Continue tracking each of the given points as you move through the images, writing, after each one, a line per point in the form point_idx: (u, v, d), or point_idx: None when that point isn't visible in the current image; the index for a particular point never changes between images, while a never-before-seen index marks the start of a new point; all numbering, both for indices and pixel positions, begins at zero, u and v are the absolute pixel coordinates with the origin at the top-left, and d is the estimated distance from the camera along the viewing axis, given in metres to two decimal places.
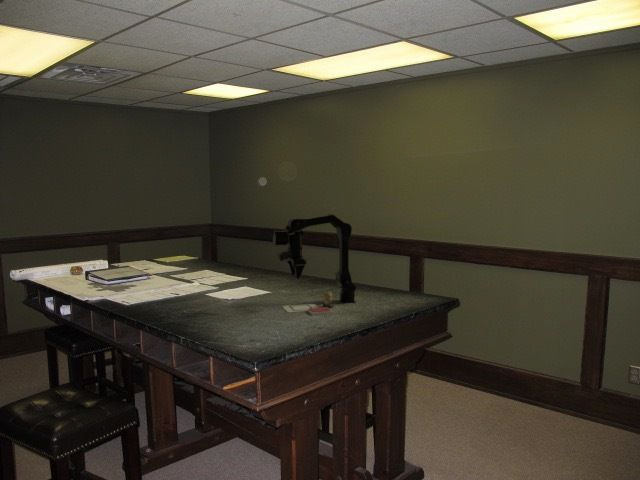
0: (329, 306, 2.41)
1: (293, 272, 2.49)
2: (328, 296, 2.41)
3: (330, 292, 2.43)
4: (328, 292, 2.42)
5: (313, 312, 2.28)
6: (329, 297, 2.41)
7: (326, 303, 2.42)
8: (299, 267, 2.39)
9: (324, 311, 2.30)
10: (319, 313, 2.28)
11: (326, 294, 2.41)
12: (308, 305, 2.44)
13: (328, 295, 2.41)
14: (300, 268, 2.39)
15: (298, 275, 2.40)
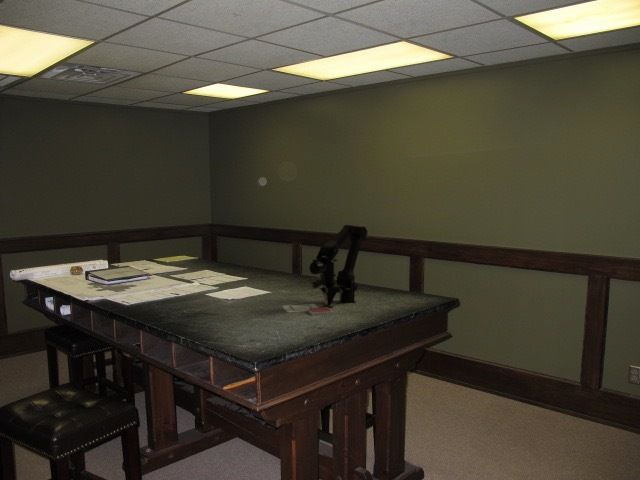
0: (329, 306, 2.41)
1: None
2: None
3: None
4: None
5: (313, 312, 2.28)
6: None
7: (326, 303, 2.42)
8: (331, 293, 2.40)
9: (324, 311, 2.30)
10: (319, 313, 2.28)
11: (326, 294, 2.41)
12: (308, 305, 2.44)
13: None
14: (332, 294, 2.40)
15: (330, 301, 2.41)
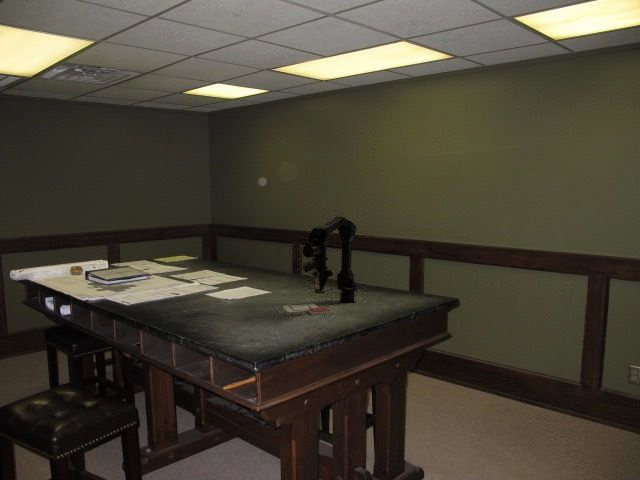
0: (321, 291, 2.29)
1: None
2: None
3: None
4: None
5: (313, 312, 2.28)
6: None
7: (318, 288, 2.30)
8: (323, 278, 2.28)
9: (324, 311, 2.30)
10: (319, 313, 2.28)
11: None
12: (308, 305, 2.44)
13: None
14: (324, 279, 2.28)
15: (322, 286, 2.29)
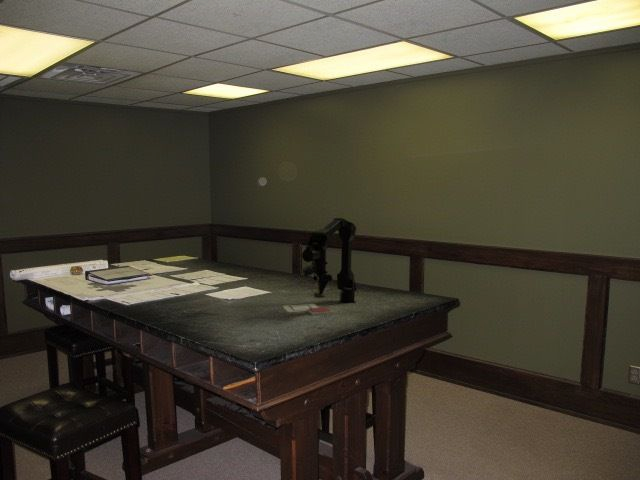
0: (320, 295, 2.29)
1: None
2: None
3: None
4: None
5: (313, 312, 2.28)
6: None
7: (317, 292, 2.30)
8: (322, 282, 2.28)
9: (324, 311, 2.30)
10: (319, 313, 2.28)
11: (317, 283, 2.30)
12: (308, 305, 2.44)
13: None
14: (324, 283, 2.28)
15: (321, 290, 2.29)
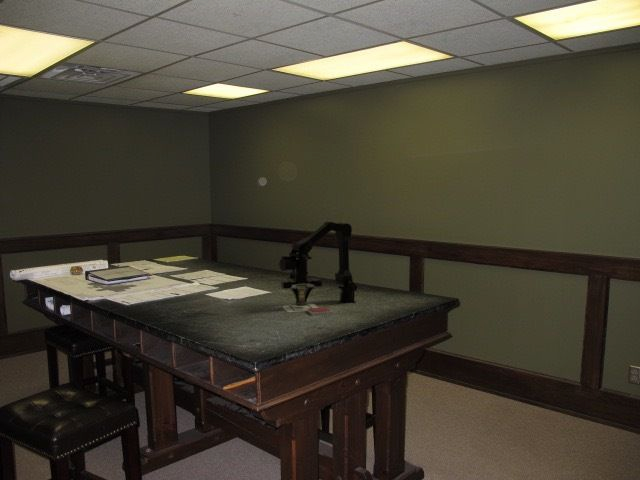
0: (296, 303, 2.40)
1: (305, 298, 2.40)
2: None
3: (301, 290, 2.38)
4: (299, 289, 2.39)
5: (313, 312, 2.28)
6: None
7: None
8: None
9: (324, 311, 2.30)
10: (319, 313, 2.28)
11: None
12: (308, 305, 2.44)
13: None
14: None
15: (296, 298, 2.39)
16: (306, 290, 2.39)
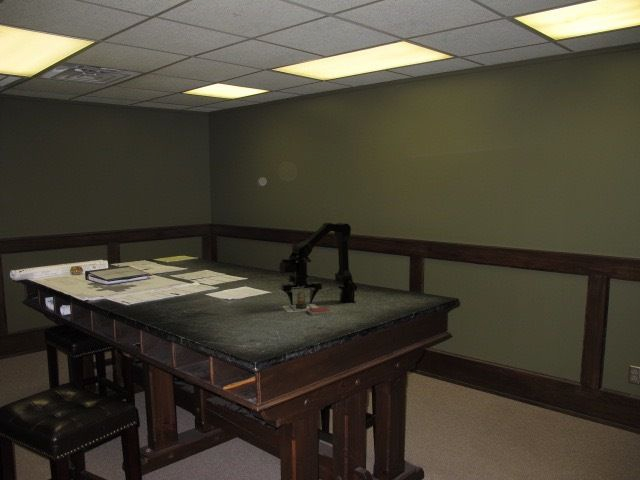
0: (296, 306, 2.40)
1: (310, 301, 2.41)
2: (297, 296, 2.40)
3: (301, 293, 2.39)
4: (299, 292, 2.39)
5: (313, 312, 2.28)
6: (297, 297, 2.39)
7: None
8: None
9: (324, 311, 2.30)
10: (319, 313, 2.28)
11: None
12: (308, 305, 2.44)
13: (297, 295, 2.40)
14: None
15: (290, 302, 2.38)
16: (311, 293, 2.40)
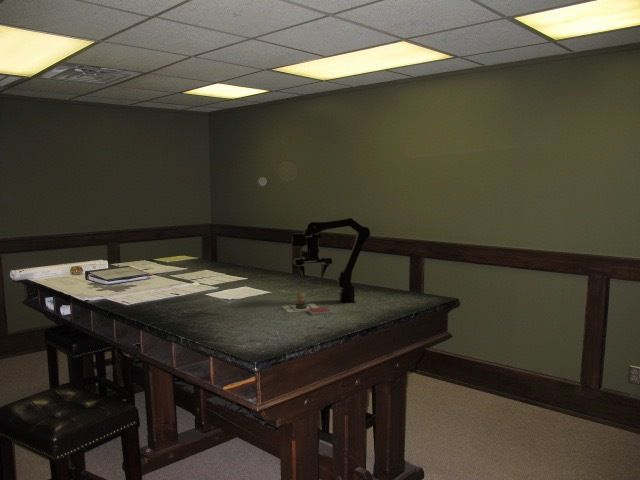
0: (296, 306, 2.40)
1: (321, 275, 2.53)
2: (297, 296, 2.40)
3: (301, 293, 2.39)
4: (299, 292, 2.39)
5: (313, 312, 2.28)
6: (297, 297, 2.39)
7: None
8: None
9: (324, 311, 2.30)
10: (319, 313, 2.28)
11: None
12: (308, 305, 2.44)
13: (297, 295, 2.40)
14: None
15: (302, 275, 2.50)
16: (322, 267, 2.52)
